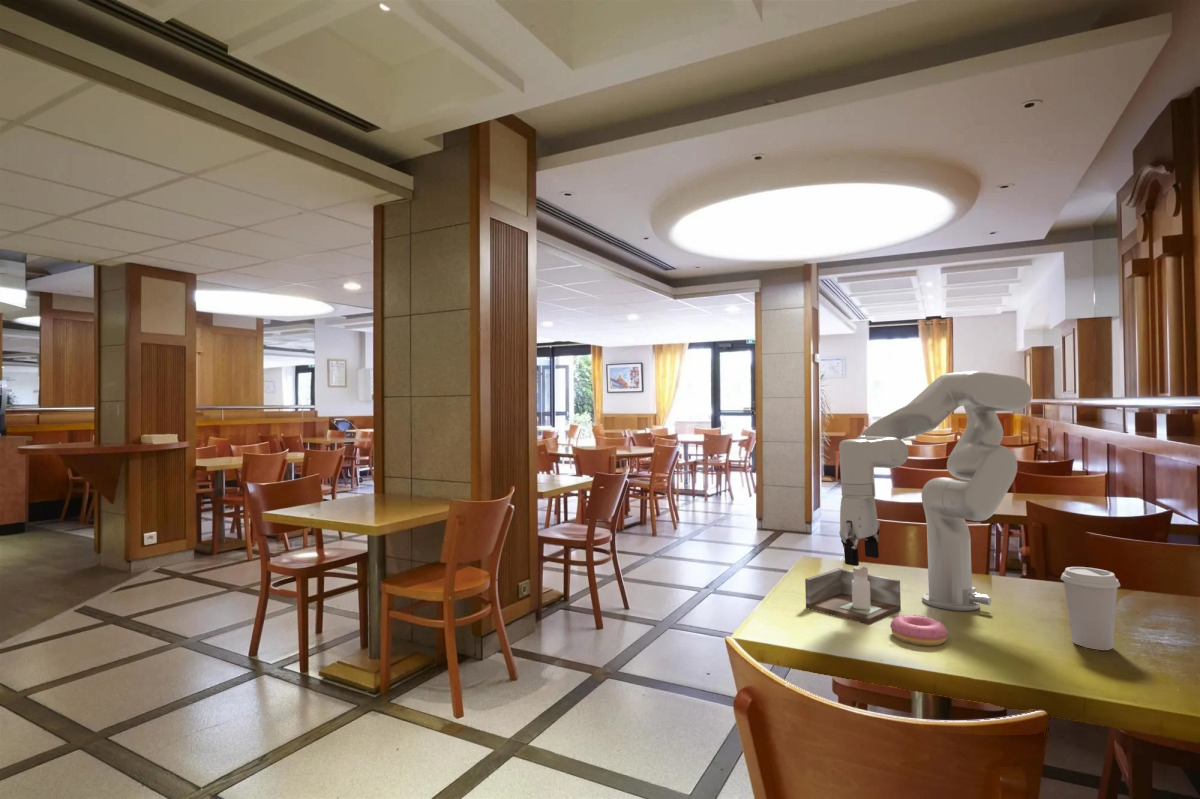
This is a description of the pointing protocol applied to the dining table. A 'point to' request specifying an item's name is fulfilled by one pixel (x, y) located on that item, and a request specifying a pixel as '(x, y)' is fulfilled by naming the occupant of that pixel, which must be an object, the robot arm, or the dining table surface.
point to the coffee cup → (1091, 605)
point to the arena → (836, 596)
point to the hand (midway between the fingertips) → (862, 560)
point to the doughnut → (919, 630)
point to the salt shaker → (860, 589)
